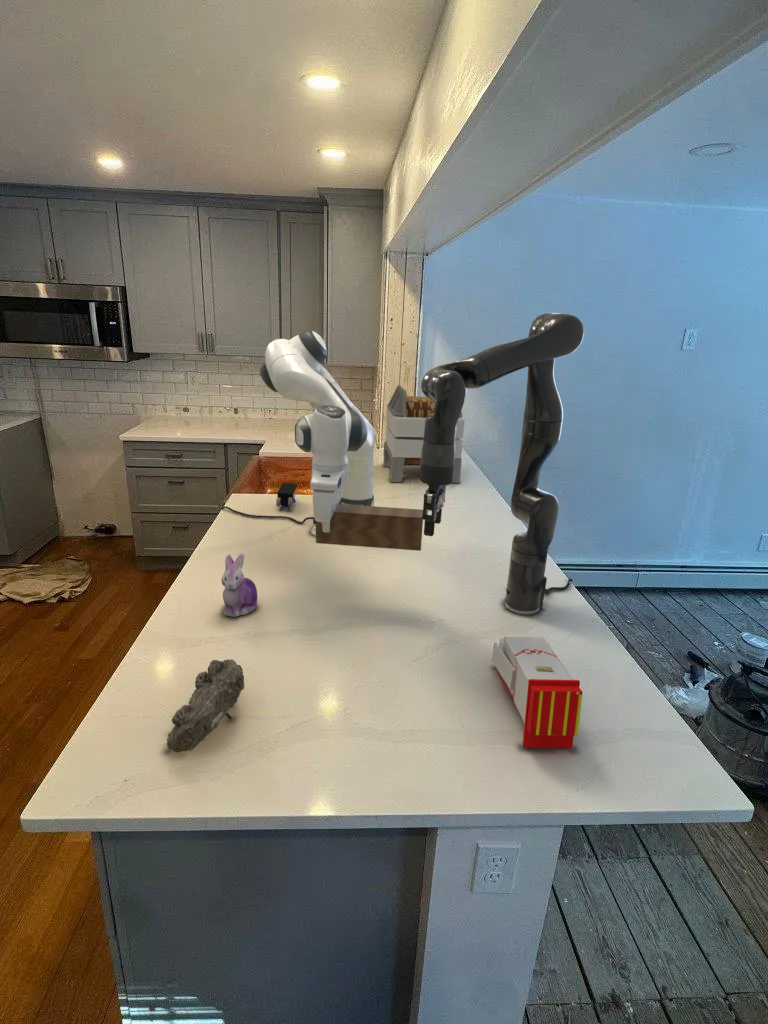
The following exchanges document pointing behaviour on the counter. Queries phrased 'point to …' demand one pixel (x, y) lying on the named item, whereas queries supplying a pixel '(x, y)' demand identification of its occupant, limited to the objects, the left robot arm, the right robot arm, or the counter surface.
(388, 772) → the counter surface
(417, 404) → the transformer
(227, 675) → the fossil
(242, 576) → the figurine
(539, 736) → the toy
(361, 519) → the box
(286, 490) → the figurine character
